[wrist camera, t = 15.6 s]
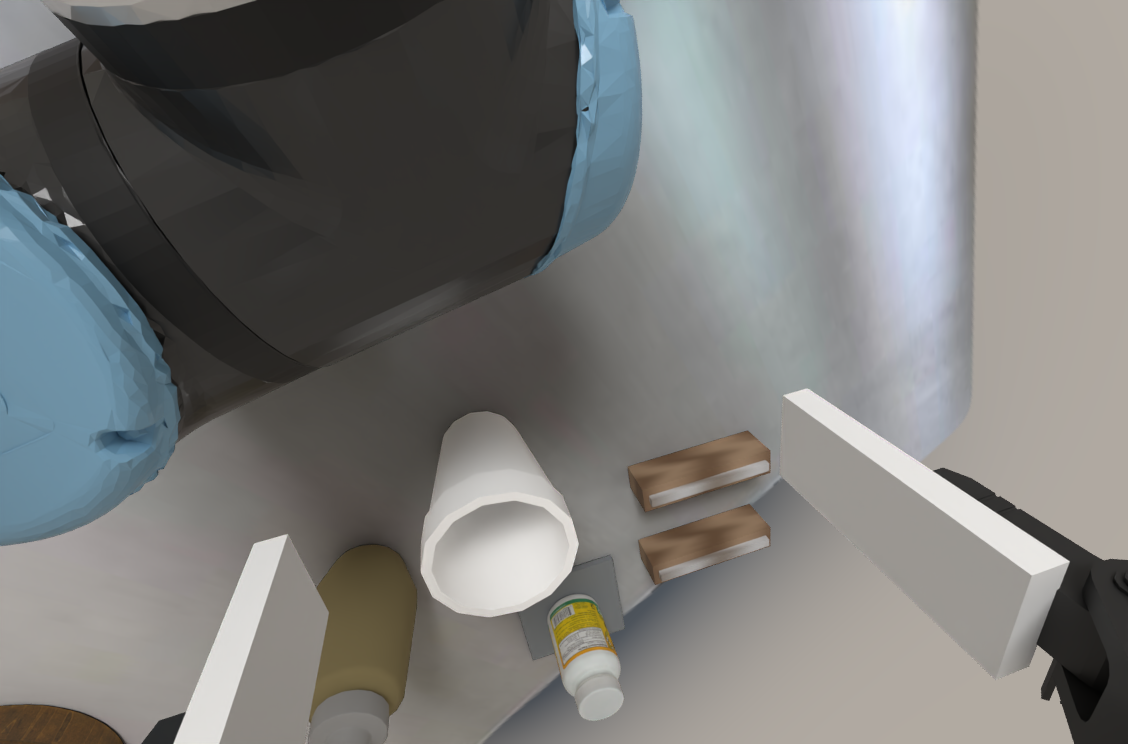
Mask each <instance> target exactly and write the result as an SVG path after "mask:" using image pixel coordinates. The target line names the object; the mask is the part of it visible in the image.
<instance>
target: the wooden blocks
mask: <svg viewBox="0 0 1128 744" xmlns="http://www.w3.org/2000/svg"><path fill="white" fill-rule="evenodd" d="M628 473H629V479H630V486H631V489H632V491H633V492H634V494H635V496H636V497H637V499H638V501H639V502H640V504H641V506H642V507H643V509H644V511H645V512H647V511H650V510H654V509H657V508H660V507H663V506H666V505H669V504H673V503H676V502H679V501H682V500H685V499H688V498H692V497H695V496H698V495H701V494H704V493H707V492H711V491H714V490H717V489H720V488H723V487H726V486H730V485H733V484H736V483H739V482H742V481H746V480H749V479H752V478H755V477H758V476H761V475H765V474H768V473H770V450H769V449H768V448H767V447H766V446H764V445H763V444H762V443H761V442H760V441H759V440H758V439H757V438H755V437H754V436H753V435H752V434H751V433H750V432H749V431H745V432H741V433H738V434H735V435H731V436H728V437H725V438H721V439H718V440H715V441H711V442H708V443H705V444H701V445H698V446H695V447H691V448H688V449H685V450H681V451H678V452H675V453H671V454H668V455H665V456H661V457H658V458H655V459H651V460H648V461H645V462H641V463H638V464H635V465H631V466H628ZM638 541H639V548H640V554H641V559H642V561H643V563H644V564H645V566H646V568H647V570H648V572H649V574H650V576H651V578H652V580H653V582H654V584H655V585H656V584H659V583H662V582H665V581H668V580H671V579H674V578H677V577H680V576H683V575H686V574H689V573H692V572H695V571H698V570H701V569H704V568H707V567H710V566H713V565H716V564H719V563H722V562H724V561H728V560H731V559H733V558H736V557H739V556H742V555H745V554H748V553H751V552H754V551H757V550H760V549H763V548H766V547H769V546H770V527H769V525H768V524H767V523H766V522H765V521H764V520H763V519H762V518H761V516H760V515H759V514H758V513H757V512H756V511H755V510H754V509H753V508H752V506H751V505H750V504H748V505H745V506H742V507H739V508H736V509H733V510H729V511H726V512H723V513H720V514H717V515H714V516H711V517H708V518H705V519H702V520H698V521H695V522H692V523H689V524H686V525H683V526H680V527H677V528H674V529H671V530H667V531H664V532H661V533H658V534H655V535H652V536H649V537H646V538H643V539H640V540H638Z"/></svg>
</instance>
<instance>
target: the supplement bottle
mask: <svg viewBox="0 0 1128 744" xmlns="http://www.w3.org/2000/svg"><path fill="white" fill-rule="evenodd" d="M547 623H548V628H549V631H550V635H551V639H552V643H553V647H554V651H555V655H556V658H557V662H558V666H559V670H560V674H561V678H562V682H563V685H564V687H565V689H566V691H567V692H568V693H569V694H570V695H572V696H574V697H575V702H576V705H577V708H578V712H579V714H580V716H581V717H582V718H584V719H586V720H590V721H598V720H602V719H605V718H608V717H610V716H611V715H613V714H615V713H616V712H617V711H618V710H619V709H620V708H621V706H622V704H623V702H624V695H623V692H622V689H621V686H620V683H619V681H618V679H619V676H620V672H621V667H620V662H619V659H618V656H617V653H616V651H615V648H614V645H613V643H612V640H611V638H610V635H609V632H608V630H607V627H606V624H605V622H604V619H603V616H602V614H601V611H600V609H599V606H598V604H597V603H596V602H595V600H594V599H593V598H592V597H590V596H587V595H584V594H573V595H569V596H566V597H564V598H562V599H560V600H559V601H558V602H556V603H555V604H554V605H553V607H552V608H551V610H550V611H549V614H548V618H547Z"/></svg>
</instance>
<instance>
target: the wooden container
mask: <svg viewBox="0 0 1128 744" xmlns="http://www.w3.org/2000/svg"><path fill="white" fill-rule="evenodd" d="M0 744H123V742H122V741H121V739H120V738H119V737H118V735H117V734H116V733H115V732H114V731H113V730H111V729H110V728H109V727H108V726H106V725H105V724H103V723H101V722H100V721H98V720H96V719H94V718H92V717H89V716H87V715H84V714H82V713H79V712H75V711H72V710H68V709H63V708H58V707H51V706H43V705H8V706H0Z"/></svg>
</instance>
